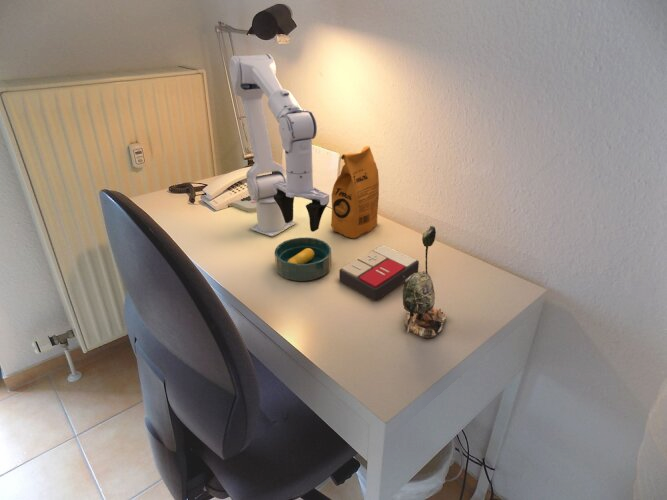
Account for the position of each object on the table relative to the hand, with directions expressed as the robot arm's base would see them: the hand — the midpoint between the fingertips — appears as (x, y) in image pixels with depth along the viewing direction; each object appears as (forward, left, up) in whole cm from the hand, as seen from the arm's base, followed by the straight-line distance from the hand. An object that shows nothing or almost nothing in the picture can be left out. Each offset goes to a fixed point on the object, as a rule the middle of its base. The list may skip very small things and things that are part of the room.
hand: (301, 225), depth 101 cm
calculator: (-3, +19, -10) cm, 22 cm away
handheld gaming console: (-20, -34, -10) cm, 41 cm away
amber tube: (+3, +2, -9) cm, 9 cm away
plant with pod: (+7, +34, -10) cm, 36 cm away
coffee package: (-21, +1, -10) cm, 24 cm away
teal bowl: (+3, +2, -9) cm, 10 cm away
